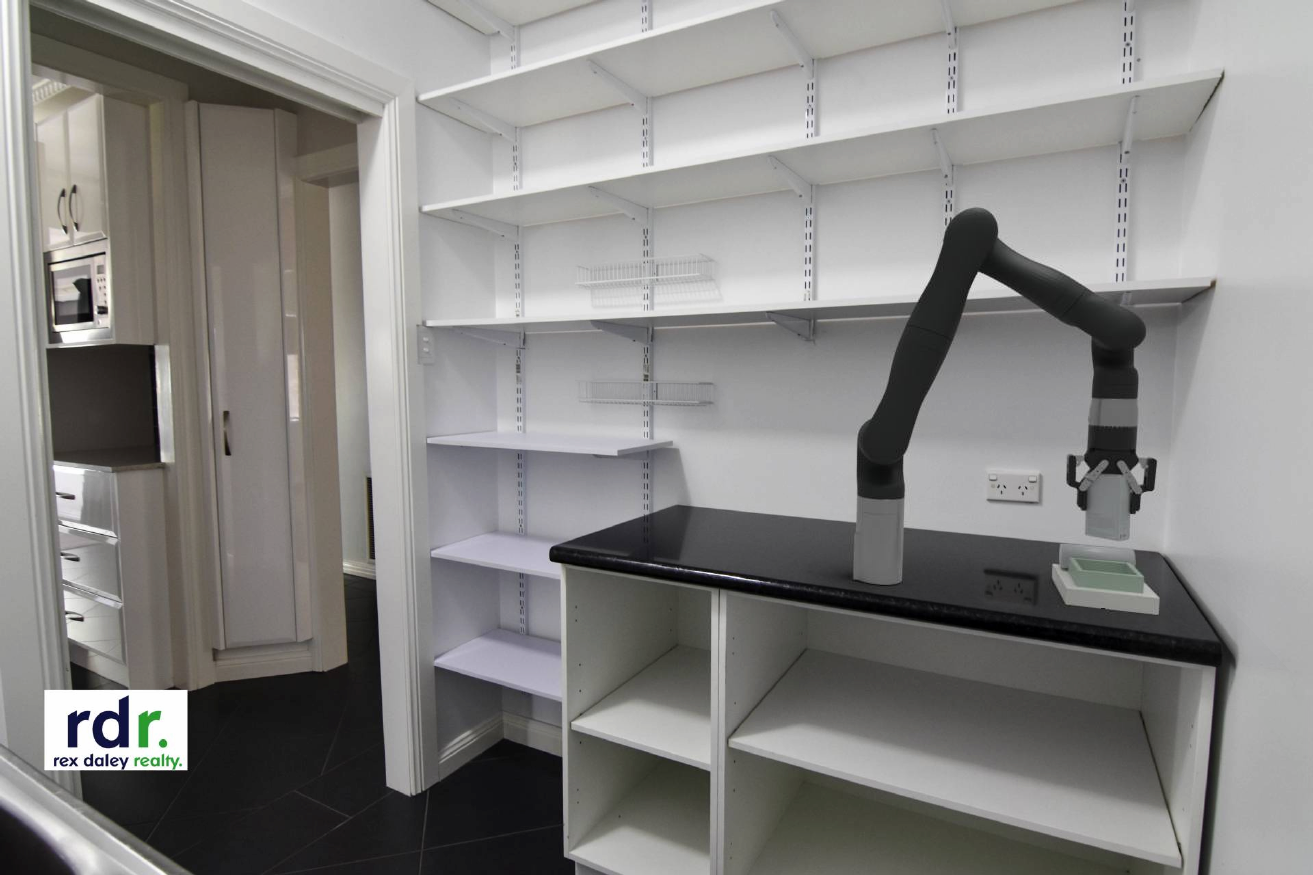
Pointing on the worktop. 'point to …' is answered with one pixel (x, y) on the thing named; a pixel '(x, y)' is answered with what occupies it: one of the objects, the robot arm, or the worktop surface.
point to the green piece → (1106, 575)
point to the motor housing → (1100, 597)
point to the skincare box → (1108, 507)
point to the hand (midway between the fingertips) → (1107, 511)
